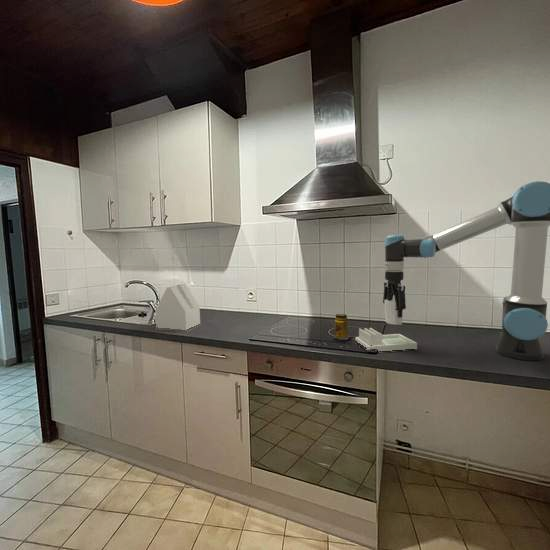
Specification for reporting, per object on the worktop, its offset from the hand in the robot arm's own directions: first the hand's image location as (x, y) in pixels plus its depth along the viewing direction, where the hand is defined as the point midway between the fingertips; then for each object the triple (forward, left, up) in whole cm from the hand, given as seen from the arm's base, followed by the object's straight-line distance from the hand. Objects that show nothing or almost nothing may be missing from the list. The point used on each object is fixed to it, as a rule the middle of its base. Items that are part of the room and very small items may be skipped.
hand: (393, 322), depth 137 cm
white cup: (0, 0, 0) cm, 0 cm away
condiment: (+15, +18, -11) cm, 26 cm away
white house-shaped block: (+58, +102, -11) cm, 118 cm away
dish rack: (0, +4, -11) cm, 11 cm away
